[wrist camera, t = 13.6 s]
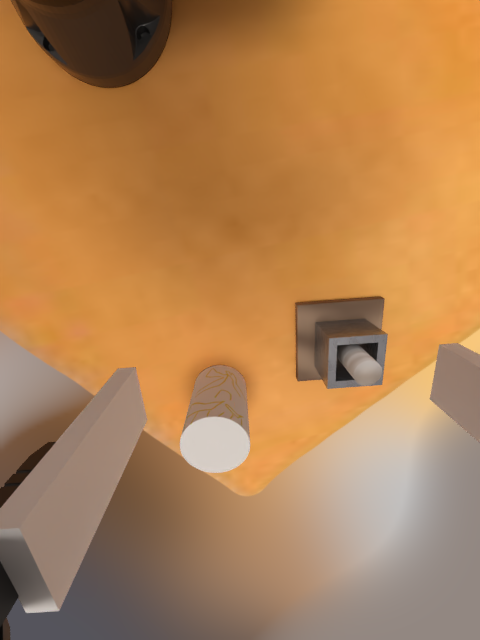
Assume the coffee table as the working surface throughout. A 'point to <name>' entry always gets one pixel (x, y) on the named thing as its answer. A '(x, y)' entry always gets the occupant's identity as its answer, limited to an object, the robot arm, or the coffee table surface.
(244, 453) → the gold-veined taupe cylinder
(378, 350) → the collar
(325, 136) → the coffee table surface
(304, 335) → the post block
